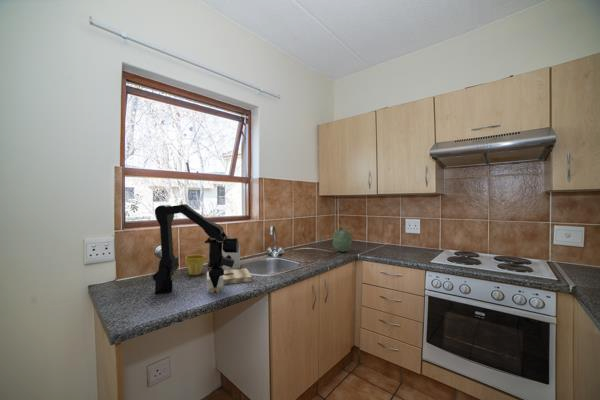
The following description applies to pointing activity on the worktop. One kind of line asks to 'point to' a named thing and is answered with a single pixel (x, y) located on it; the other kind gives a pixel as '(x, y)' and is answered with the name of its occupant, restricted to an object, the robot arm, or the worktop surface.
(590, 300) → the worktop surface
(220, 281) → the plug
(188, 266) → the plant pot
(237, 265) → the supplement box
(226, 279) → the socket board
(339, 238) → the cabbage
